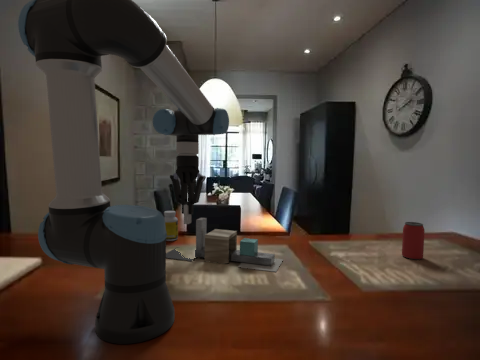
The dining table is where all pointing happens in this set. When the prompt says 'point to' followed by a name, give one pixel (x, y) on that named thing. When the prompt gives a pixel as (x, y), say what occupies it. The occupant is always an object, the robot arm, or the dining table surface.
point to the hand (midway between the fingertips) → (187, 223)
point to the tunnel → (219, 245)
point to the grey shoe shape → (176, 255)
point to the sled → (245, 254)
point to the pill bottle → (171, 225)
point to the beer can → (413, 240)
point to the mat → (263, 266)
